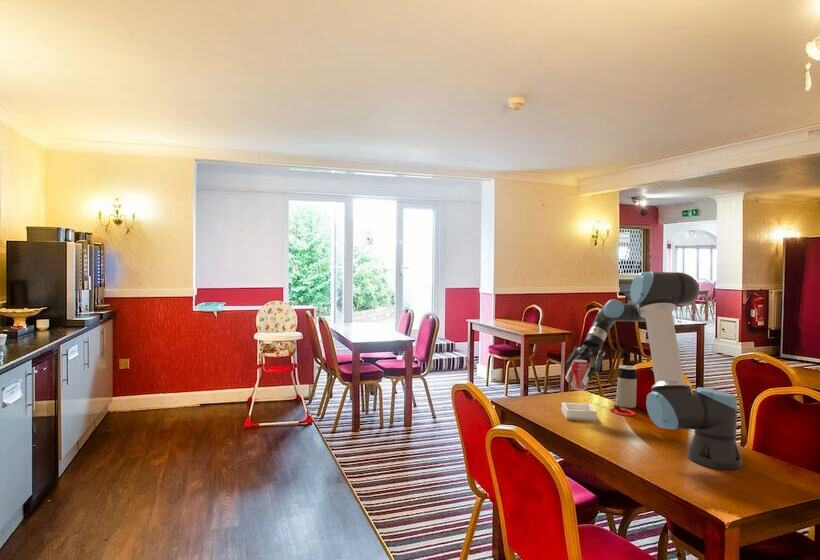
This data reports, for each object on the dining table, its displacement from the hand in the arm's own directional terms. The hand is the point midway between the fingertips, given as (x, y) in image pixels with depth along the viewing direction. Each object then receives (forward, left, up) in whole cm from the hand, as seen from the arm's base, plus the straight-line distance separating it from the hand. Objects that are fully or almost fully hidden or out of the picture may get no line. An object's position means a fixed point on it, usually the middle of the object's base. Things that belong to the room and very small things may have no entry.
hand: (575, 381), depth 210 cm
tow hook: (+12, -23, -16) cm, 31 cm away
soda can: (+3, -2, -4) cm, 5 cm away
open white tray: (+3, -2, -15) cm, 16 cm away
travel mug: (+25, -28, -16) cm, 41 cm away
